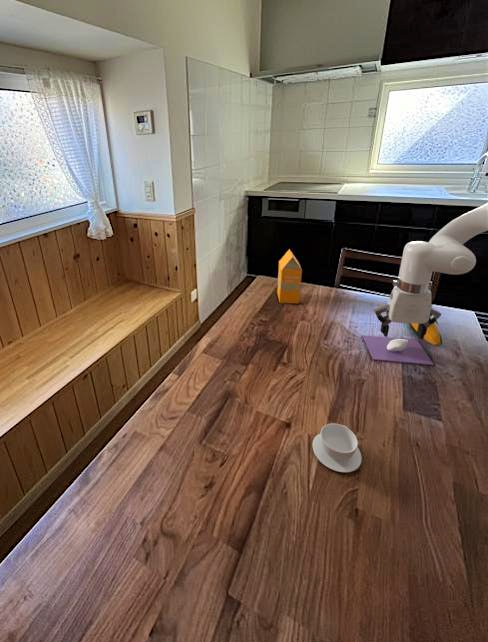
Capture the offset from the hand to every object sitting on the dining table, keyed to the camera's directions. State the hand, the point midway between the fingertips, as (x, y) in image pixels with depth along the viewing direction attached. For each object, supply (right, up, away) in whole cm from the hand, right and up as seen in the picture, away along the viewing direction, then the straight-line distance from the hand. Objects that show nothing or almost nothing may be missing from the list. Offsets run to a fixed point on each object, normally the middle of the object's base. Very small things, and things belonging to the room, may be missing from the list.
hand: (402, 335), depth 102 cm
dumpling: (0, -5, +2) cm, 5 cm away
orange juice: (-24, +8, +36) cm, 44 cm away
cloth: (0, -5, +3) cm, 6 cm away
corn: (+13, -2, +9) cm, 16 cm away
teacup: (-32, -21, -28) cm, 47 cm away
